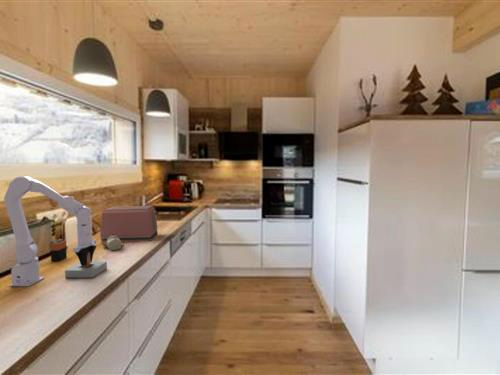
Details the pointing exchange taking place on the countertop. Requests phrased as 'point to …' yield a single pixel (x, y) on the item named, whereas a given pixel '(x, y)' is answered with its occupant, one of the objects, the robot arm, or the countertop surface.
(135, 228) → the toaster
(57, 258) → the battery
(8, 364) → the countertop surface
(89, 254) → the peg
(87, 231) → the robot arm
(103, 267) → the socket block
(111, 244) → the ceramic sculpture
